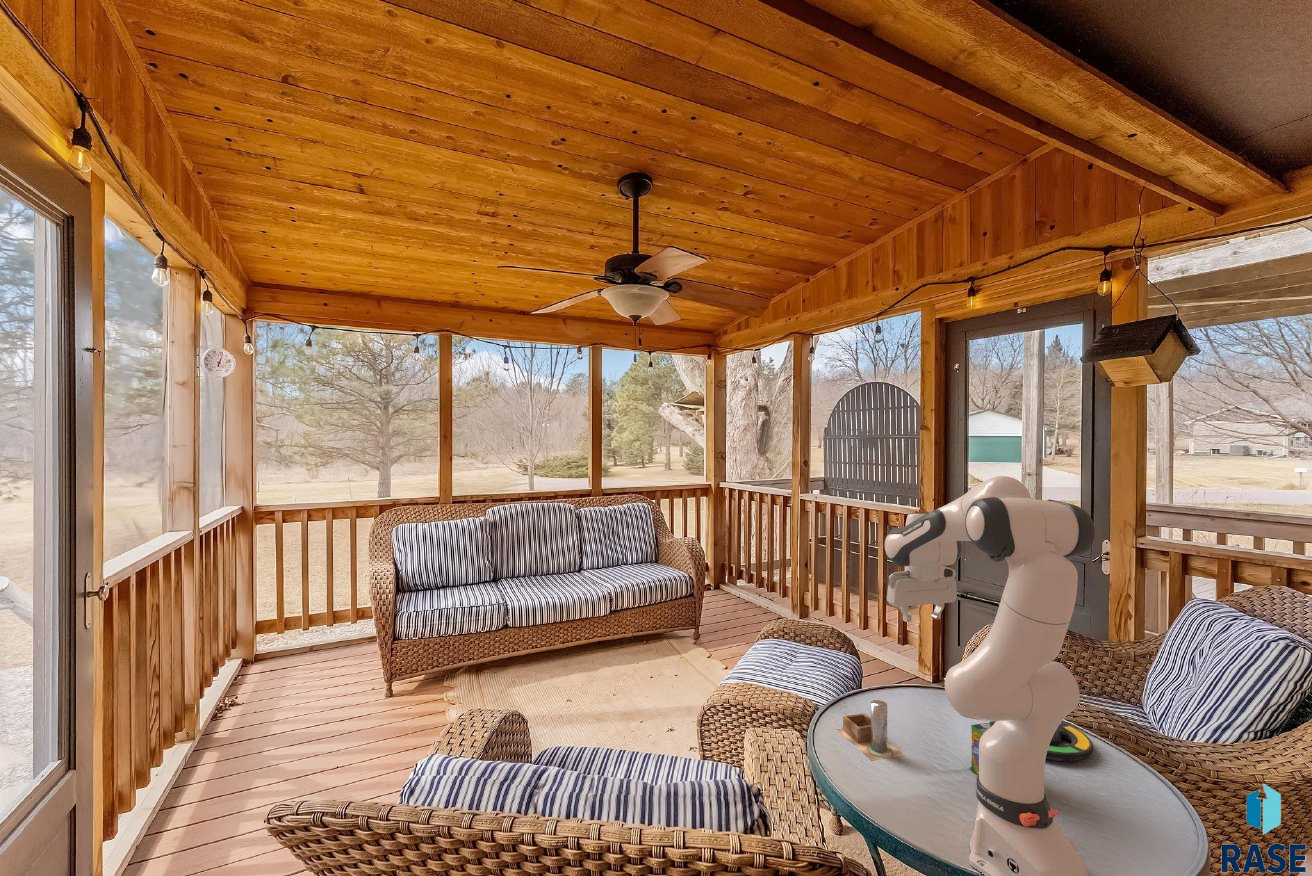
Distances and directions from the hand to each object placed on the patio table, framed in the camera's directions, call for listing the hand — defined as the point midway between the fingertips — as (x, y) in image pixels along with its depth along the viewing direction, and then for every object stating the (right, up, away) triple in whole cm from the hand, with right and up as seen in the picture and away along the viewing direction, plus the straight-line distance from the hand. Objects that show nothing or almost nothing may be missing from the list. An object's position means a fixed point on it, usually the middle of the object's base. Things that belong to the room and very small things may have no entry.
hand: (921, 619), depth 156 cm
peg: (-15, -32, -7) cm, 36 cm away
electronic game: (+32, -34, -1) cm, 47 cm away
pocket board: (-16, -33, -3) cm, 37 cm away
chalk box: (+11, -33, -18) cm, 39 cm away
